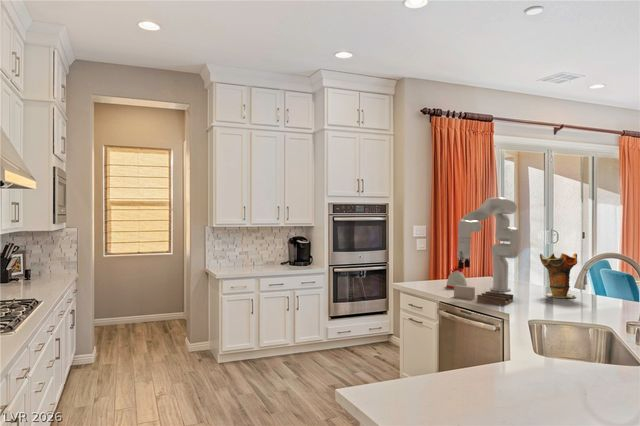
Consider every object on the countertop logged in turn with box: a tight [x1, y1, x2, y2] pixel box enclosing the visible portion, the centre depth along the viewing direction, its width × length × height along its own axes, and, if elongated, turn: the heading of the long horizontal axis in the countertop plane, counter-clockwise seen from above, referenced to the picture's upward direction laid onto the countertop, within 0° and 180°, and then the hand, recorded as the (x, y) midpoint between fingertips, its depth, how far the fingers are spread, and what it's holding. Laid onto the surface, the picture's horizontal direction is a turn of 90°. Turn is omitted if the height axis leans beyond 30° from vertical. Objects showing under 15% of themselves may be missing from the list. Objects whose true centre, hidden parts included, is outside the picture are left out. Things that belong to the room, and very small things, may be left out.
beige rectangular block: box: [453, 285, 476, 300], centre depth 280 cm, size 3×12×7 cm, turn 51°
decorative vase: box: [539, 252, 578, 299], centre depth 285 cm, size 21×23×28 cm
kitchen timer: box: [446, 266, 468, 290], centre depth 316 cm, size 14×14×15 cm
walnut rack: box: [476, 291, 514, 306], centre depth 267 cm, size 15×16×4 cm
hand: (464, 268), depth 279 cm, fingers open, 9 cm apart
